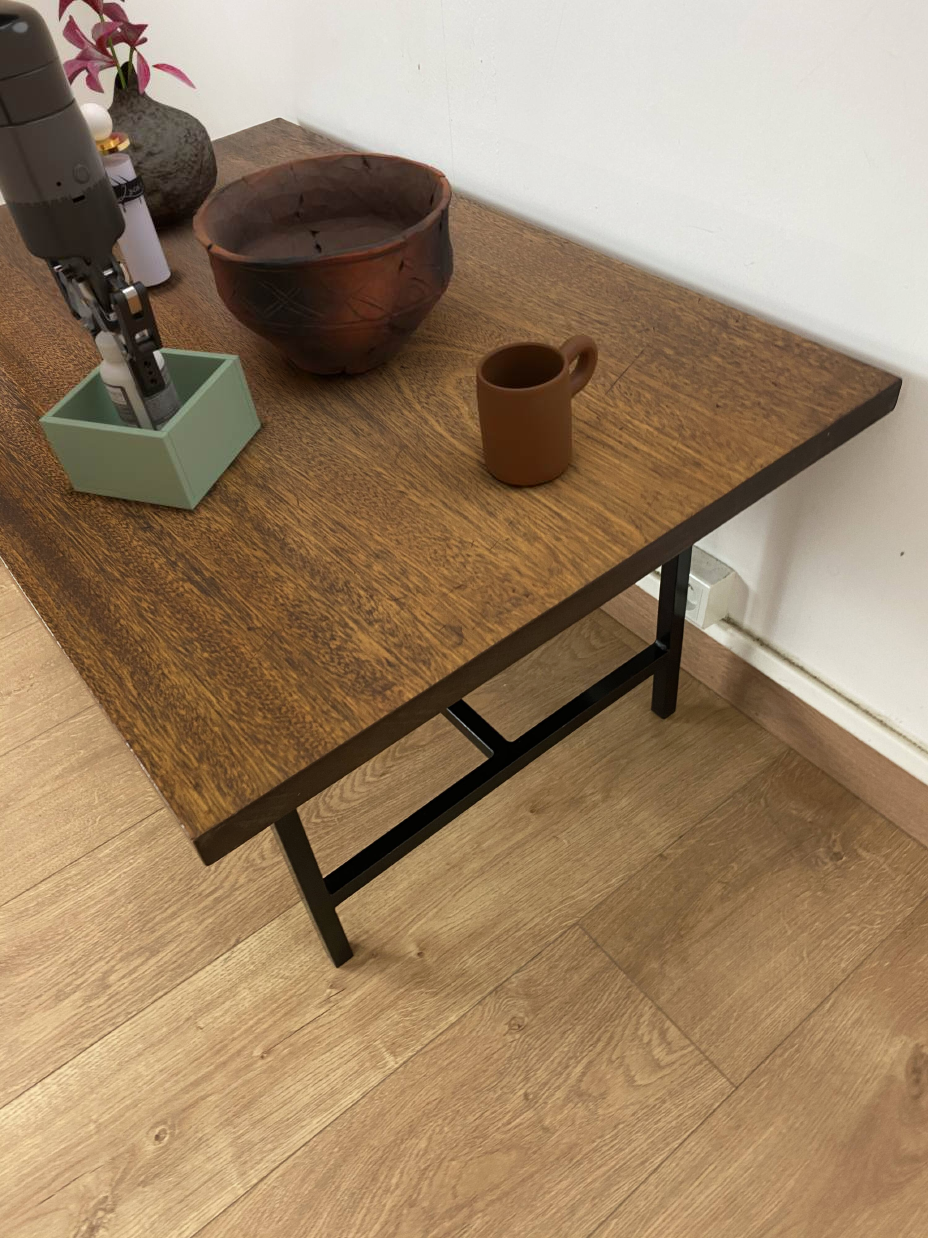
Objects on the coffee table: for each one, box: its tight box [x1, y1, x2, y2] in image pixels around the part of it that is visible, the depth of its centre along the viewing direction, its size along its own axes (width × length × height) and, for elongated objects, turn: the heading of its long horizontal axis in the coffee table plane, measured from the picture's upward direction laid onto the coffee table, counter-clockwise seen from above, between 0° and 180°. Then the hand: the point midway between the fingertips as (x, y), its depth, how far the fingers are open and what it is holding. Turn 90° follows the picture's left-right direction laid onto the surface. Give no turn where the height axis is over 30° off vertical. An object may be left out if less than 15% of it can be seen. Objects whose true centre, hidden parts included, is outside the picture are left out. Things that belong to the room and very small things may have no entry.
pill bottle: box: [94, 331, 182, 431], centre depth 78 cm, size 5×5×10 cm
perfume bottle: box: [79, 102, 172, 287], centre depth 103 cm, size 6×6×20 cm
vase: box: [58, 0, 219, 230], centre depth 113 cm, size 17×18×30 cm
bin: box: [38, 347, 261, 511], centre depth 81 cm, size 13×13×8 cm
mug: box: [475, 333, 599, 486], centre depth 75 cm, size 12×8×9 cm, turn 130°
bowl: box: [192, 152, 454, 375], centre depth 90 cm, size 25×25×15 cm
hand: (136, 379), depth 78 cm, fingers closed on pill bottle, 5 cm apart
